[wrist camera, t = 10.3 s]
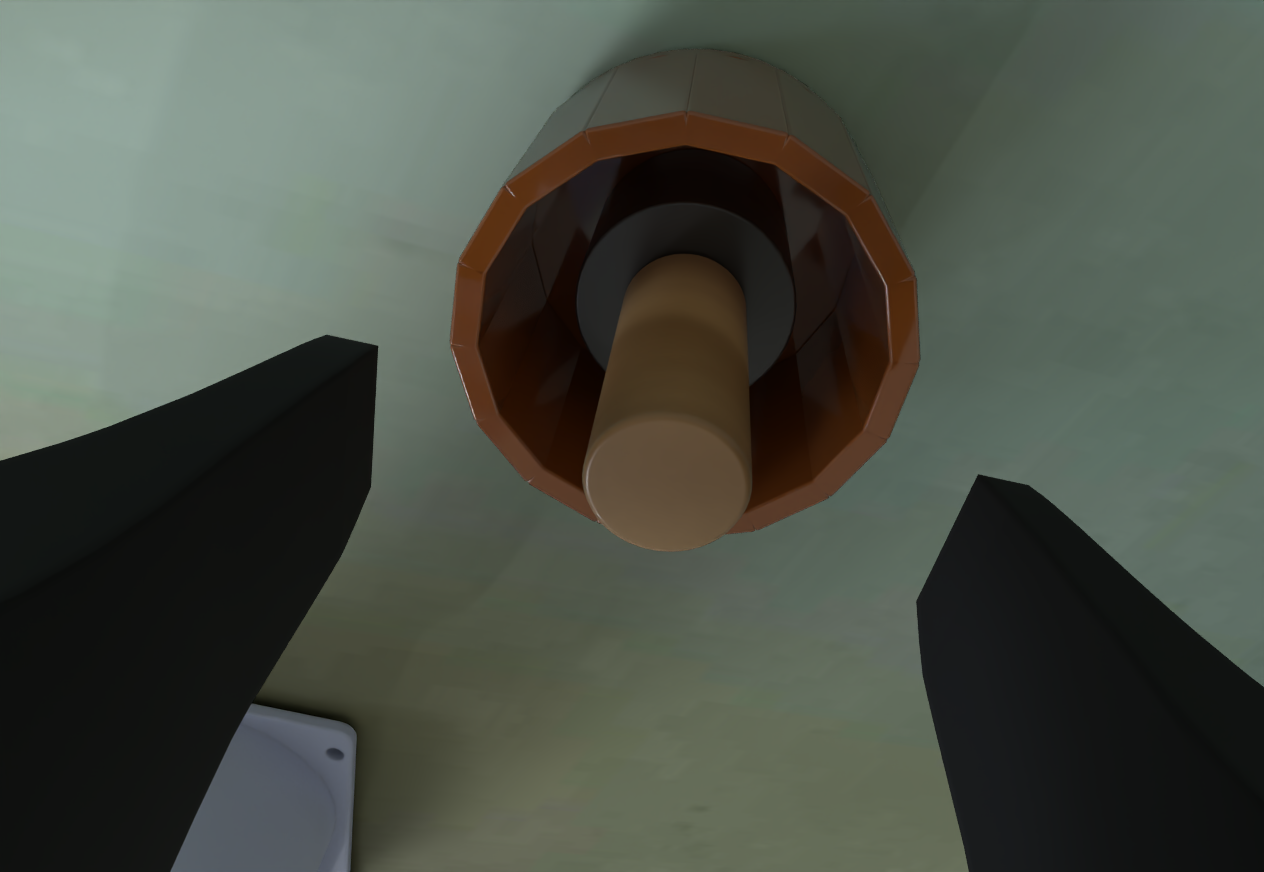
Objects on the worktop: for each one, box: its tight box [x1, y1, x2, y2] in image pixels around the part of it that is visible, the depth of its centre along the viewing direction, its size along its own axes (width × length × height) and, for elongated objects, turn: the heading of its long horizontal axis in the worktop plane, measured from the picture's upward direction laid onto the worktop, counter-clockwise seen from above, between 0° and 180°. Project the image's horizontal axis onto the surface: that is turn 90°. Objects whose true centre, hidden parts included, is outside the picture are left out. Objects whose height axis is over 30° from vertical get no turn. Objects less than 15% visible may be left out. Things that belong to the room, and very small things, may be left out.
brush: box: [575, 150, 797, 552], centre depth 14 cm, size 4×4×8 cm
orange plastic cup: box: [450, 49, 920, 534], centre depth 16 cm, size 7×7×5 cm
